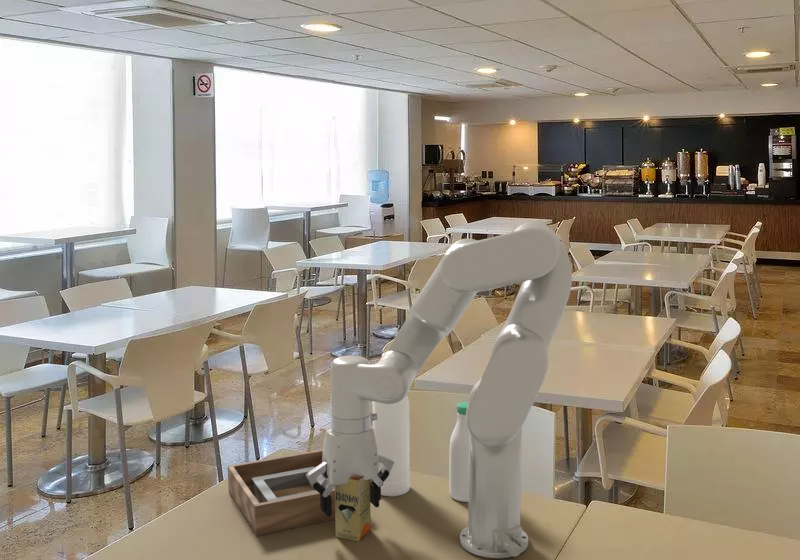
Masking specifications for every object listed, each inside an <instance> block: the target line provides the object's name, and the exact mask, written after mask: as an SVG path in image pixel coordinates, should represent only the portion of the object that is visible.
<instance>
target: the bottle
mask: <svg viewBox="0 0 800 560" xmlns="http://www.w3.org/2000/svg"><path fill="white" fill-rule="evenodd" d="M384 353H385V352H383V353H382V354H381V357H382V356H383V355H384ZM372 413H377V416H378V419H377V420H374V421H372V427H373V428H374V431H375V436H376V442H377V449H378V454H379V455H381V456H384V457H387V458H389V459H391V460H392V461H393V462H394V464H393V467H392V469H391V471H390V472H389V473H390V474H389V476H388V477H387V479H386V480H385V481H384V482H383V483H384V484H383V486H382V487H381V496H385V497H399V496H402V495H405V494H407V493H408V492H409V491H410V490H411V474H410V470H411V469H410V468H411V467H410V466H411V463H410V462H411V461H410V460H411V459H410V456H411V453H410V450H411V449H410V440H411V439H410V400H409V397H408V394H407V395H406V396H405V397H404V398H403V399H402V400H401V401H400V402H398V403H394V404H383V403H378V402H374V401H372ZM378 464H379V468H378V473H379V471H380V470H381V469H382V468H383V465H384V464H381V463H379V462H378Z"/></svg>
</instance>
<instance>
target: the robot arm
mask: <svg viewBox="0 0 800 560" xmlns="http://www.w3.org/2000/svg"><path fill="white" fill-rule="evenodd" d="M572 276H573V275H572V266H571V261H570V256H569V253H568V251H567V249H566V247H565V246H564V244H563V242H562V241H561V238H559V236H558V235H557V234H556V233H555V231H554V230H553V229H552V228H551V227H549V226H548V225H546V224H544V223H542V222H538V221H529V222H526V223H522V224H520V225H519V226H518V227H517V228H516V229H515V230H513V231H511V232H509V233H504V234H499V235H496V236H493V237H488V238H485V239H479V240H477V239H474V238H462V239H459V240H457V241H455V242H453V243H452V244H451V246H450V247H448V249H447V250H446V252H444V255H443V257H442V258H441V259H440V261H439V263H438V265H437V266H436V268H435V269H434V270H433V272H432V274H431V275H430V277H429V278H428V280H427V282H426V283H425V284H424V285H423V288H422V289H421V290H420V291H419V293H418V295H417V296H416V298H415V300H414V301H413V303H412V305H411V307H409V312H408V314H407V316H406V319H405V321H404V322H403V324H402V326H401V327H400V329H399V331H398V332H397V333H396V335H395V336H394V338H393V340H392V342H391V343H390V344H389V346H388V348H387V349H386V350H385V351H384V352H383V353H384V355H383V356H382V355H381V357H380V359H379V360H378V362H376V363H372V364H371V363H370V360H369V359H368V358H366V357H365V356H359V355H344V356H343V355H342V356H338V357H336V358H334V359H332V362H331V363H330V373H329V376H330V378H329V379H330V381H329V382H330V383H329V384H330V385H329V386H330V389H329V390H330V395H329V396H330V428H327V429H326V430H325V436H324V441H323V446H322V449H323V455H322V463H321V464H320V465H318V466H317V467H315V468H314V469H313V470H311V471H310V472H308V473H307V474H306V477H307V479H308V480H309V482H310V484H311V486H312V487H313V488H314V489H315V490H316V491H317V492H319V493H320V508H321V510H322V512H324V513H325V514H326V516H327V517H331V516H332V498H331V496H330V495H329V494H330V492H331V491H332V490H333V488H334V487H335V486H338V485H344V484H347V483H348V480H349V479H351V478H356V477H361V476H364V480H370V504H372V506H374V507H375V508H379V507H380V501H381V500H382V495H381V487H382V486H383V484H384V483H383V482H384V481H385V480H386V479H387V477H388V476H389V474H390V473H389V472H390V471H391V469H392V467H393V464H394V462H393V461H392V460H391V459H389V458H387V457H384V456H381V455H379V454H378V449H377V442H376V436H375V431H374V428H373V421H374V420H377V419H378V416H377V413H373V412H372V402H373V401H374V402H378V403H383V404H394V403H398V402H400V401H401V400H402V399H403V398H404V397H405V396H406V395H407V396H408V394H409V391H410V390H411V387H412V385H413V382H414V380H415V379H416V377H417V376H418V374H419V372H420V371H421V369H422V368H423V366H424V365H425V363H426V362H427V360H428V359H429V357H430V355H431V354H432V353H433V351H434V350H435V349H436V347H437V346H438V345H439V343H440V342H441V341H442V340H443V339H444V338H446V337H447V336H449V335H450V333H451V332H452V331H453V330H454V328H455V327H456V325H457V324H458V322H459V320H460V319H461V317H462V316H463V314H464V313H465V311H466V310H467V308H468V307H469V306H470V305H471V303H472V301H473V299H475V297H476V295H477V294H478V293H480V292H486V291H490V290H495V289H499V288H504V287H508V286H511V285H515V284H520V283H521V285H520V288H519V290H518V292H517V295H516V298H515V300H514V303H513V306H512V307H511V310H510V312H509V314H508V315H507V318H506V320H505V323H504V324H503V327H502V329H501V330H500V332H499V334H498V336H497V337H496V338H495V341H494V343H493V345H492V351H491V352H492V353H491V356H490V358H489V361H488V363H487V365H486V368H485V370H484V372H483V373H482V377H481V378H480V379H479V380H478V381H477V382H475V384H474V386H473V387H472V389H471V391H470V394H469V397H468V401H467V402H468V406H467V411H466V424H467V427H468V430H469V499H468V502H467V503H468V504H467V505H468V511H467V512H468V514H467V515H468V523H467V524H468V525H467V526H466V527H464V528H463V529H461V532H460V534H459V544H460V545H461V546H462V548H463V549H464V550H465V551H467V552H469V553H471V554H473V555H475V556H478V557H483V558H488V559H506V558H513V557H514V558H515V557H518V556H520V554H522V553H523V552H525V551H526V550H527V549H528V546H529V536H528V534H527V532H525V531H524V530H523V528H522V526H521V498H522V497H521V492H522V491H521V490H522V488H521V487H522V485H521V484H522V483H521V482H522V474H521V473H522V447H523V443H522V441H523V427H524V424H525V422H526V420H527V417H528V415H529V413H530V412H531V409H532V406H533V405H534V402H535V401H536V399H537V397H538V394H539V393H540V390H541V389H542V385H543V383H544V381H545V379H546V375H547V372H548V368H549V349H550V344H551V342H552V339H553V338H554V335H555V333H556V331H557V329H558V326H559V323H560V322H561V318H562V317H563V313H564V312H565V309H566V307H567V304H568V301H569V298H570V295H571V290H572V279H573V277H572ZM378 462H379V463H381V464H384V465H383V468H382V469H381V470H380V471H379V473H378V468H379V464H378ZM321 474H322V476H323V477H324V478H325V479H324V480H323V481H322V483H321V484H319V483H318V482H317V477H318V476H319V475H321Z"/></svg>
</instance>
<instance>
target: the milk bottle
mask: <svg viewBox="0 0 800 560" xmlns="http://www.w3.org/2000/svg"><path fill="white" fill-rule="evenodd" d="M467 406H468V401H462V402H459V403H457V404H456V412H457V413H456V415H457V421H456V423H455V426H454V429H453V431H452V433H451V436H450V440H449V454H448V455H449V459H448V460H449V463H448V467H449V470H448V474H449V475H448V481H449V482H448V488H449V489H448V490H449V491H448V492H449V496H450V498H452V499H454V500H455V501H457V502H463V503H468V499H469V430H468V427H467V424H466V411H467Z"/></svg>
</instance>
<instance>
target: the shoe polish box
mask: <svg viewBox="0 0 800 560" xmlns="http://www.w3.org/2000/svg"><path fill="white" fill-rule="evenodd" d="M370 482H371V479H370V480H364V476H361V477H356V478H351V479H349V480H348V483H347V484H344V485H338V486H335V519H334V520H335V537H336V538H342V539H345V540H350V541H356V542H360V541H361V540H362V539H363V538H364V537H365V536H366V535H367V534H368V533H369V532H370V531H371V530H372V529H371V527H372V525H371V522H372V521H371V516H372V515H371V502H370Z"/></svg>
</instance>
